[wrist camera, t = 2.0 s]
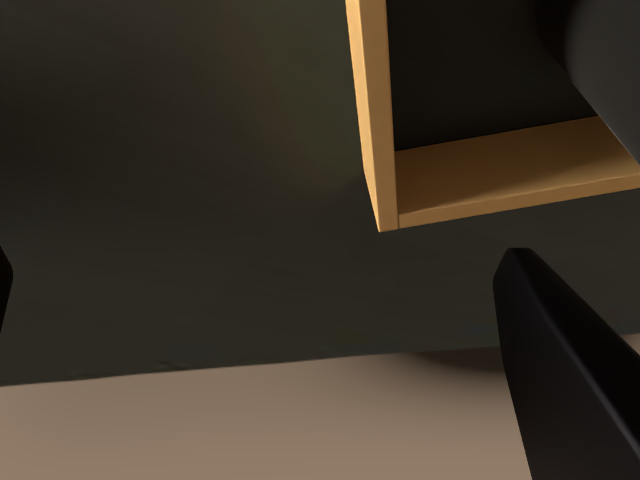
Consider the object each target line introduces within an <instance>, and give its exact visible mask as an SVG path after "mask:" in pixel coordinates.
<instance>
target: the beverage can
mask: <svg viewBox="0 0 640 480" xmlns="http://www.w3.org/2000/svg"><path fill="white" fill-rule="evenodd" d="M536 20H537V28H538V33H539V36H540V39H541V42H542V44H543V46H544V48H545V49H546V51H547V52H548V53H549V55H550V56H551V57H552V58H553V59H554V61H555V62H556V63H557V64H558V66H559V67H560V68H561V69H562V71H563V72H564V73H565V74H566V76H567V77H568V78H569V79H570V80H571V82H572V83H573V84H574V85H575V87H576V88H577V89H578V90H579V92H580V93H581V94H582V95H583V96H584V98H585V99H586V100H587V101H588V103H589V104H590V105H591V106H592V108H593V109H594V110H595V111H596V113H597V114H598V115H599V116H600V117H601V119H602V120H603V121H604V122H605V124H606V125H607V126H608V127H609V129H610V130H611V131H612V132H613V134H614V135H615V136H616V137H617V138H618V140H619V141H620V142H621V143H622V145H623V146H624V147H625V148H626V150H627V151H628V152H629V153H630V154H631V156H632V157H633V158H634V159H635V161H636V162H637V163H638V164H639V166H640V0H537V6H536Z"/></svg>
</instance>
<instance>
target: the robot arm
mask: <svg viewBox="0 0 640 480" xmlns="http://www.w3.org/2000/svg"><path fill="white" fill-rule="evenodd" d="M12 281H13V270H12V266H11V264H10V263H9V261H8V259H7V257H6V255H5V254H4V252H3V250H2V248H1V246H0V332H1V328H2V324H3V320H4V315H5V311H6V307H7V302H8V298H9V294H10V290H11V285H12ZM493 292H494V300H495V308H496V315H497V323H498V331H499V339H500V346H501V353H502V360H503V365H504V369H505V374H506V378H507V381H508V386H509V390H510V394H511V398H512V401H513V406H514V409H515V413H516V417H517V421H518V425H519V429H520V433H521V437H522V441H523V445H524V449H525V453H526V457H527V461H528V465H529V469H530V473H531V476H532V480H640V355H639V354H638V353H637V352H636V351H635V350H634V349H633V348H632V347H631V346H629V344H628V343H627V342H625V340H624V339H623V338H621V336H620V335H619V334H617V333H616V332H615V331H614V330H613V329H612V328H611V327H610V326H609V325H608V324H607V323H606V322H605V321H604V320H603V319H602V318H601V317H600V316H599V315H598V314H597V313H596V312H595V311H594V310H593V309H592V308H591V307H590V306H589V305H588V304H587V303H586V302H585V301H584V300H583V299H582V298H581V297H580V296H579V295H578V294H577V293H576V292H575V291H574V290H573V289H572V288H571V287H570V286H569V285H568V284H567V283H566V282H565V281H564V280H563V279H562V278H561V277H560V276H559V275H558V274H557V273H556V272H555V271H554V270H553V269H552V268H551V267H550V266H549V265H548V264H547V263H546V262H545V261H544V260H543V259H542V258H541V257H539V256H538V255H537V254H536V253H535V252H534V251H533V250H531V249H529V248H508V249H507V250H506V251H505V253H504V255H503V257H502V259H501V262H500V264H499V266H498V268H497V271H496V273H495V275H494V279H493Z"/></svg>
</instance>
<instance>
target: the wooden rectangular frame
mask: <svg viewBox="0 0 640 480" xmlns="http://www.w3.org/2000/svg"><path fill="white" fill-rule="evenodd" d="M346 9H347V19H348V28H349V37H350V46H351V56H352V65H353V74H354V83H355V92H356V102H357V111H358V120H359V129H360V139H361V148H362V157H363V166H364V172H365V177H366V181H367V185H368V189H369V193H370V197H371V201H372V205H373V210H374V214H375V218H376V222H377V226H378V230H379V232H383V231H389V230H395V229H398V227H399V228H405V227H411V226H417V225H423V224H429V223H435V222H440V221H446V220H452V219H458V218H464V217H470V216H476V215H482V214H488V213H493V212H499V211H505V210H511V209H517V208H523V207H529V206H535V205H540V204H546V203H552V202H558V201H564V200H570V199H576V198H582V197H588V196H593V195H599V194H605V193H611V192H617V191H623V190H629V189H635V188H640V166H639V164H638V163H637V162H636V161H635V159H634V158H633V157H632V156H631V154H630V153H629V152H628V151H627V150H626V148H625V147H624V146H623V145H622V143H621V142H620V141H619V140H618V138H617V137H616V136H615V135H614V134H613V132H612V131H611V130H610V129H609V127H608V126H607V125H606V124H605V122H604V121H603V120H602V119H601V117H600V116H594V117H589V118H583V119H577V120H571V121H566V122H560V123H554V124H549V125H543V126H537V127H531V128H526V129H520V130H514V131H509V132H503V133H497V134H491V135H486V136H480V137H474V138H469V139H463V140H457V141H451V142H446V143H440V144H434V145H429V146H423V147H417V148H411V149H406V150H400V151H394V137H393V119H392V100H391V82H390V64H389V45H388V27H387V9H386V0H346Z"/></svg>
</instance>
